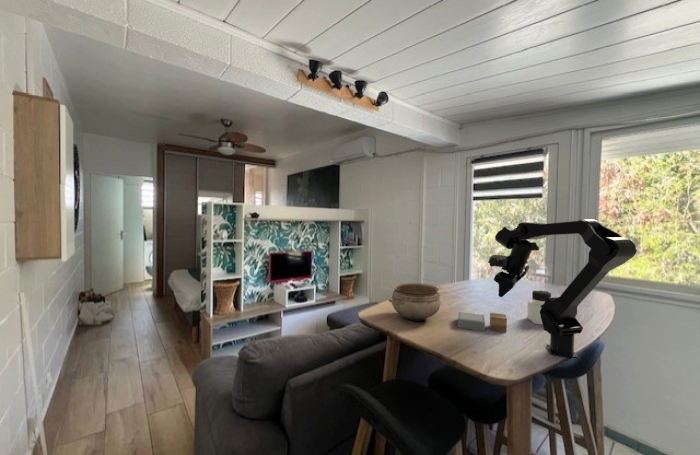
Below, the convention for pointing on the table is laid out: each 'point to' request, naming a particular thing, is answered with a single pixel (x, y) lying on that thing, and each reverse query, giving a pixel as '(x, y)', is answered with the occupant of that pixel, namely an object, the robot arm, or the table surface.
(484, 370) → the table surface
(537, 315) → the medicine bottle
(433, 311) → the cooking pot
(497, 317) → the walnut cube
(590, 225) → the robot arm
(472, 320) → the grey-green flat square block
